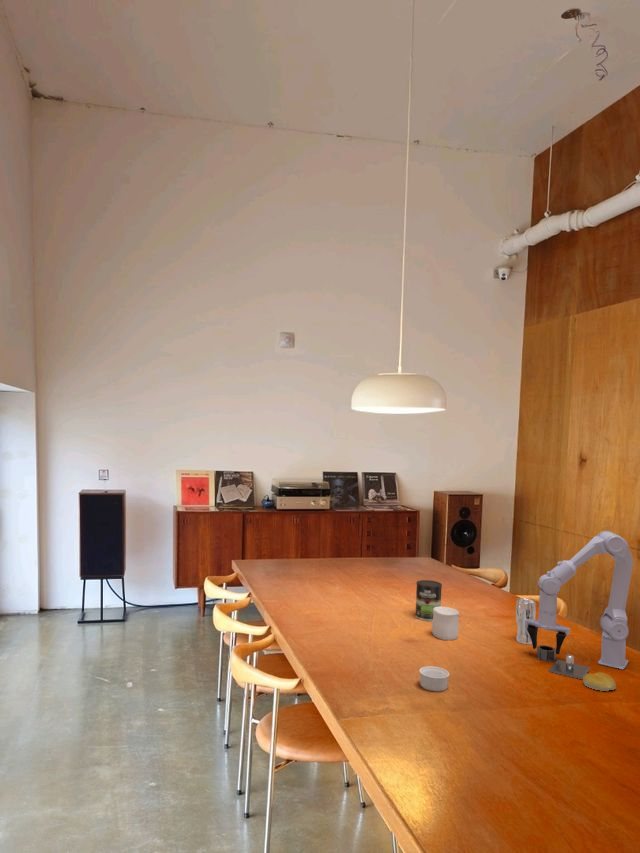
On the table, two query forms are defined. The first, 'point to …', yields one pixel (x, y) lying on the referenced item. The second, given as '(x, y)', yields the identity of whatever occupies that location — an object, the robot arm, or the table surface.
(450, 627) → the cup
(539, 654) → the ring
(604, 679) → the bread roll
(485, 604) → the table surface
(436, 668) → the ramekin
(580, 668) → the square steel plate
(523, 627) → the beer glass
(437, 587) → the coffee can
